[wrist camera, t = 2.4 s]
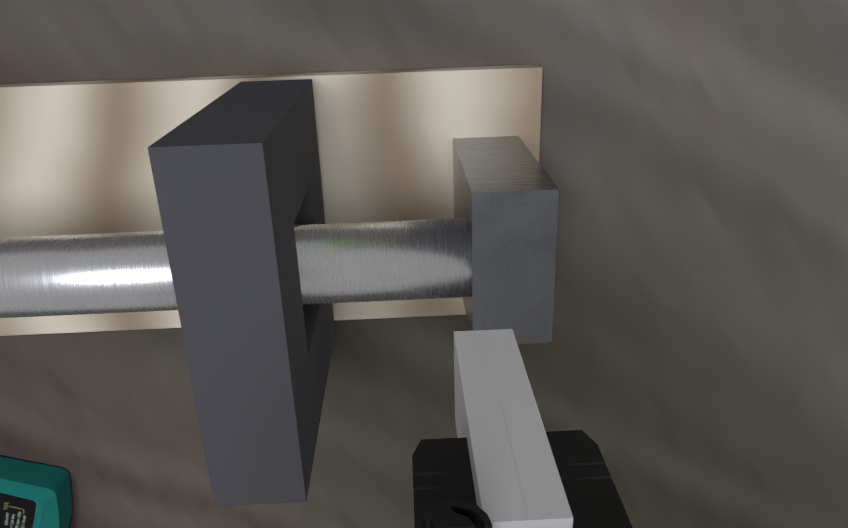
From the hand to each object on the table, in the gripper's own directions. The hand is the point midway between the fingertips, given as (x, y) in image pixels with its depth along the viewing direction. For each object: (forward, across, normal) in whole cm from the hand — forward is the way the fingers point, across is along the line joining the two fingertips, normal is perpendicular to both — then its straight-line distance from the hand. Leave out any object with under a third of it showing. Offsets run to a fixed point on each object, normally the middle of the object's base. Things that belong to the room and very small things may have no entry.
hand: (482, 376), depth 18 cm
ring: (+15, +7, 0) cm, 16 cm away
